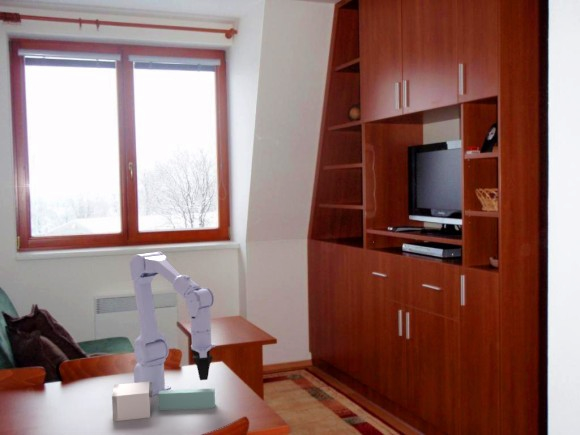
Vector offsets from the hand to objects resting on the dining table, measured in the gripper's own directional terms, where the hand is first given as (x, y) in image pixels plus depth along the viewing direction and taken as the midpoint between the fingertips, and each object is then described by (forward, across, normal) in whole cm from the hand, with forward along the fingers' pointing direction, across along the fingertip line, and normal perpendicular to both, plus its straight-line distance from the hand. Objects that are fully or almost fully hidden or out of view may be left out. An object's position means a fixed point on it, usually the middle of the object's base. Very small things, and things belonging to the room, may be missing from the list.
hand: (202, 375), depth 187 cm
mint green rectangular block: (+9, -1, +5) cm, 10 cm away
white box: (+8, -1, +20) cm, 22 cm away
